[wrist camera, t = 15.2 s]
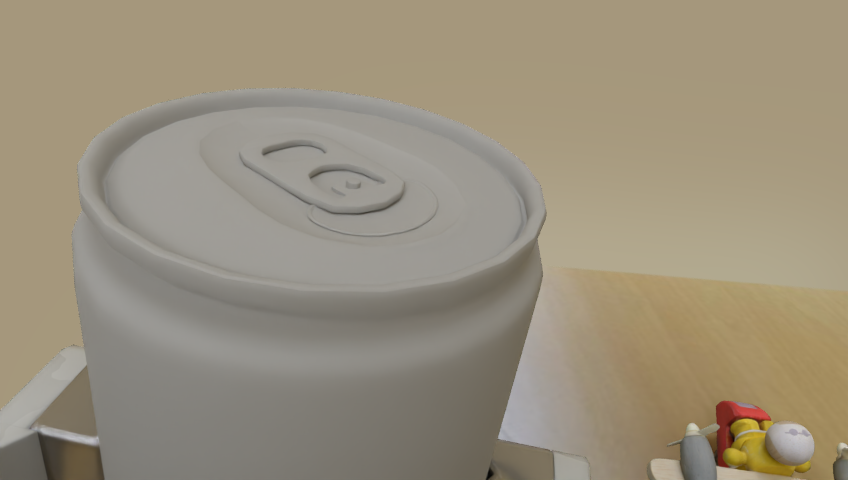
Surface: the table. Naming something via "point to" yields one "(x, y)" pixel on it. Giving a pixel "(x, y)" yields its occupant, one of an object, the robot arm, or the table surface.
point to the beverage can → (302, 288)
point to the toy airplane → (744, 449)
